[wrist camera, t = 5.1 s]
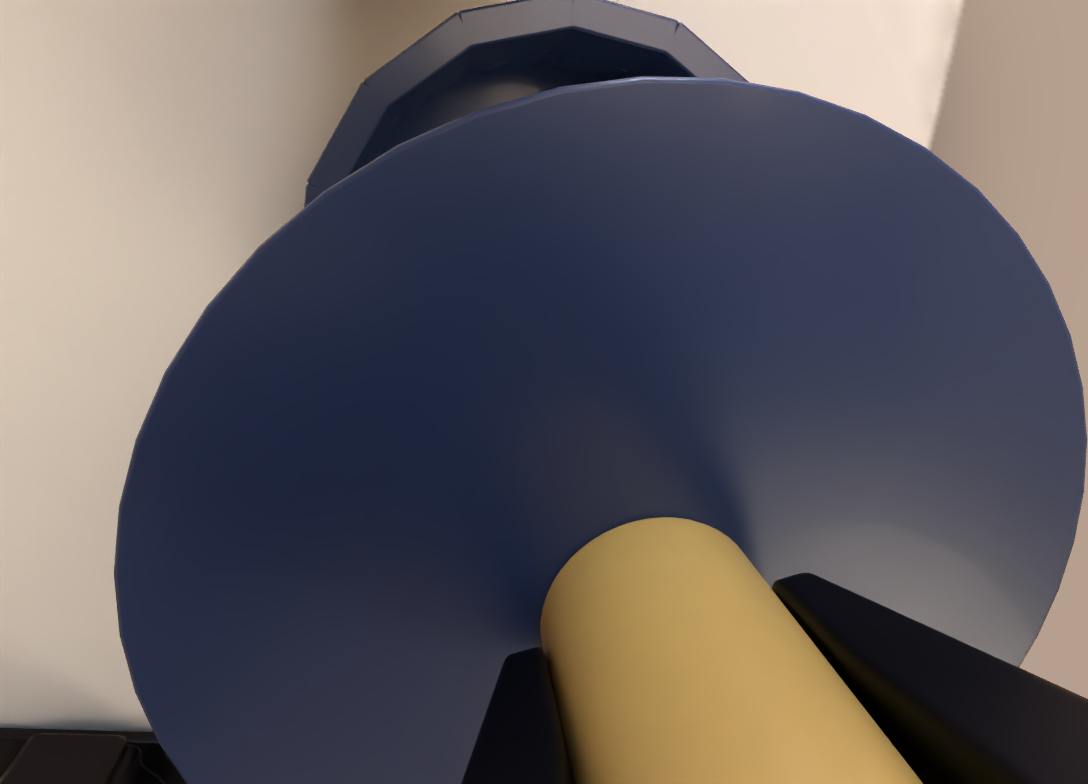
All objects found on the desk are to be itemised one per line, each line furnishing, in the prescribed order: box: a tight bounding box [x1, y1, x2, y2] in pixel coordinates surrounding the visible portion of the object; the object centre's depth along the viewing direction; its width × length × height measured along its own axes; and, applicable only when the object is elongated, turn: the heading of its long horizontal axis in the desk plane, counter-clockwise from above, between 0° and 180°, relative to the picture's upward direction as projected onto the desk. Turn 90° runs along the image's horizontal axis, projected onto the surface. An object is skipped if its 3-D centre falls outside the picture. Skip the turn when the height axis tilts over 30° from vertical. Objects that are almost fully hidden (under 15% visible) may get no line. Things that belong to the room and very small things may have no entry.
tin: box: [304, 0, 749, 208], centre depth 16 cm, size 10×10×5 cm
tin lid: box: [114, 76, 1087, 784], centre depth 6 cm, size 11×11×5 cm
